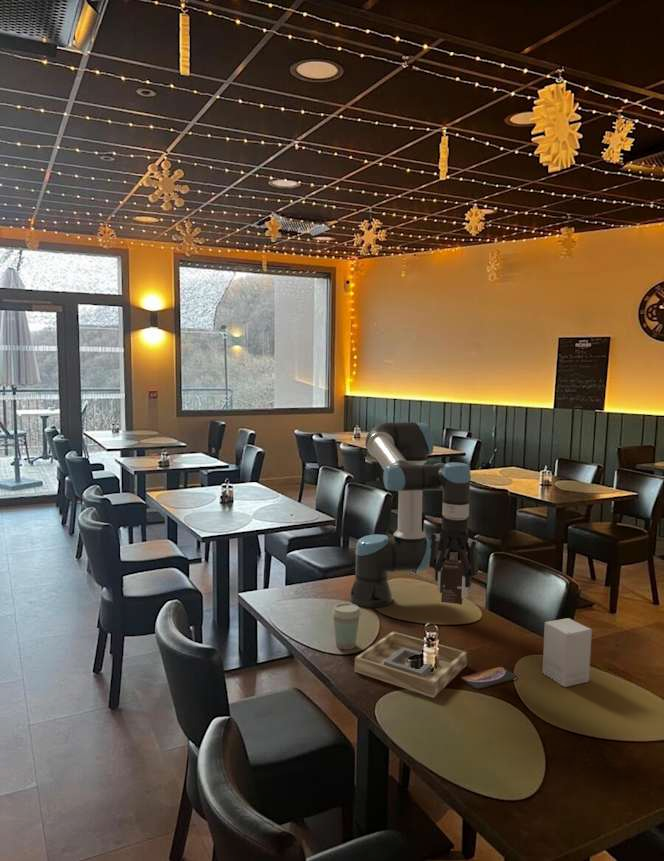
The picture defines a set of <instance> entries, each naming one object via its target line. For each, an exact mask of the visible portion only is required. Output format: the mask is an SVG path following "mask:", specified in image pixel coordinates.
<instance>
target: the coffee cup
mask: <svg viewBox="0 0 664 861" xmlns="http://www.w3.org/2000/svg"><path fill="white" fill-rule="evenodd" d="M331 615H332V616H333V624H334V626H333V627H334V637H335V638H334V639H335V646H336V647H337V648H338V649H339V650H347V651H348V650H352V649H354V648H355V647H356V644H357V643H356V642H357V636H358V630H359V629H358V628H359V621H360V616H361V610H360V606H358V605H356V604H354V603H352V602H351V603H350V602H341V603H337V604H335V605H334V607H333V610H332V612H331Z"/></svg>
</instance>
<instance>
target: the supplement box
mask: <svg viewBox="0 0 664 861" xmlns="http://www.w3.org/2000/svg"><path fill="white" fill-rule="evenodd" d="M543 631H544V634H543V654H542V656H543V657H542V658H543V659H542V674H543V673H544V674H543V675H545V676H546V675H547V676H546V677H548V678H549V677H550V678H549V679H550V680H552V679H553V680H552V681H554V682H555V683H557V684H558V685H560V686H562V687H563V686H564V687H563V688H566V687H572V686H576V685H579V684H584V683H588V682H590V670H591V667H590V666H591V652H592V651H591V648H592V646H591V645H592V635H593V634H592V632H593V630H592V628H590V627H588V626H585V625H584V624H582V623H580V622H577V621H575V620H573V619H571V618H569V617H567V618H562V619H561V618H560V619H557V620H556V619H555V620H550V621H549V620H548V621H545V622H544V630H543Z"/></svg>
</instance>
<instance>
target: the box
mask: <svg viewBox="0 0 664 861" xmlns="http://www.w3.org/2000/svg"><path fill="white" fill-rule="evenodd" d="M442 569H443V571H442V592H441V597H440V598H441V601H440V602H441V603H448V604H455V605H456V604H457V605H462V604H463V600H464V599H462V598H461V597H462V576H464V575H465V573H464V570H463V565H462V563H461V559H455V558H451V559H450V558H445V559H444V561H443V566H442Z"/></svg>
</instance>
